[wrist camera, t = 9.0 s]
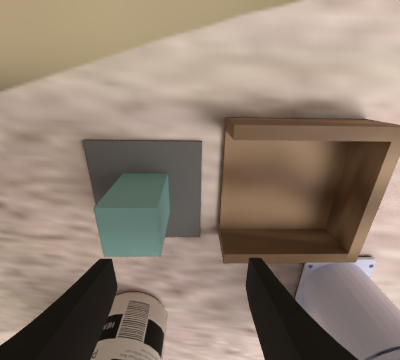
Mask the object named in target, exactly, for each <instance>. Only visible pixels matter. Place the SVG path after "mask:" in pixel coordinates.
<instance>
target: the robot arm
mask: <svg viewBox="0 0 400 360" xmlns="http://www.w3.org/2000/svg"><path fill="white" fill-rule="evenodd" d="M376 263H377V260H376V259H375V258H374V257H358V259H357V261H356V262H350V263H305V265H304V268H303V272H302V275H301V279H300V282H299V286H298V289H297V293H296V296H295V299H294V298H293V297H292V295H291V294H290V293H289V292H288V291H287V290H286V288H285V287H284V286H283V285H282V284H281V282H280V281H279V280H278V279H277V278H276V276H275V275H274V274H273V272H272V271H271V270H270V269H269V267H268V266H267V265H266V263H265V262H264V261H263V259H262V258H249V264H248V271H247V279H246V291H247V296H248V302H249V307H250V310H251V314H252V317H253V321H254V324H255V327H256V331H257V334H258V338H259V341H260V344H261V348H262V351H263V355H264V358H265V360H400V310H399V309H398V308H397V307H396V306H395V305H394V304H393V302H392V301H391V300H390V299H389V298H388V297H387V296H386V295H385V294H384V293H383V292H382V291H381V290H380V288H379V287H378V286H377V285H376V284H375V283H374V282H373V281H372V280H371V279H370V276H371V274H372V272H373V270H374V267H375V265H376ZM116 291H117V282H116V277H115V272H114V267H113V262H112V259H99V260H98V261H97V262H96V263H95V264H94V265H93V266H92V267H91V268H90V269H89V270H88V271H87V272H86V273H85V274H84V275H83V276H82V277H81V278H80V279H79V280H78V281H77V282H76V283H75V284H74V285H72V286H71V287H70V288H69V289H68V290H67V291H66V292H65V293H64V294H63V295H62V296H61V297H60V298H59V299H57V300H56V301H55V302H54V303H53V304H52V305H51V306H50V307H48V308H47V309H46V310H45V311H44V312H43V313H42V314H40V315H39V316H38V317H37V318H36V319H34V320H33V321H32V322H31V323H30V324H28V325H27V326H26V327H24V328H23V329H22V330H21V331H19V332H18V333H17V334H16V335H14V336H13V337H12V338H10V339H9V340H8V341H6V342H5V343H3V344H2V345H1V346H0V360H91V357H92V355H93V352H94V350H95V347H96V345H97V343H98V340H99V338H100V335H101V333H102V331H103V328H104V326H105V323H106V321H107V318H108V316H109V313H110V311H111V308H112V305H113V302H114V298H115V295H116Z"/></svg>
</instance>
